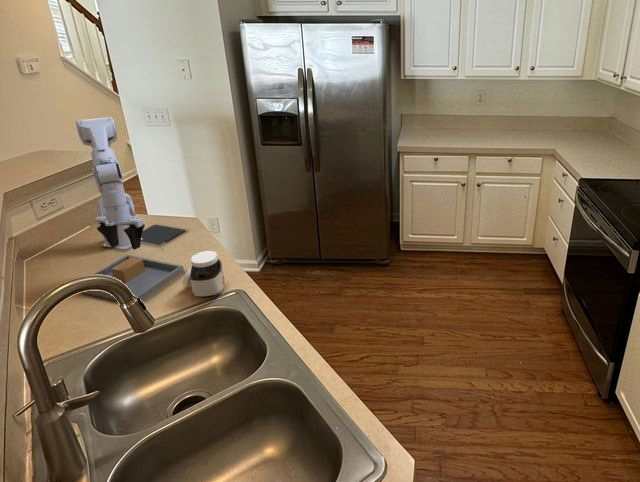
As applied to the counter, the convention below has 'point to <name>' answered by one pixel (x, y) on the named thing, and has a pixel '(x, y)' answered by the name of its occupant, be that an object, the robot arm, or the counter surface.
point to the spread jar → (205, 275)
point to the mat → (160, 234)
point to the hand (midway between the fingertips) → (126, 247)
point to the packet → (128, 269)
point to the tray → (144, 277)
